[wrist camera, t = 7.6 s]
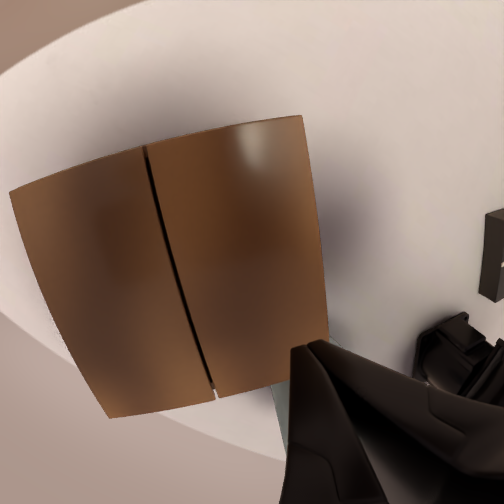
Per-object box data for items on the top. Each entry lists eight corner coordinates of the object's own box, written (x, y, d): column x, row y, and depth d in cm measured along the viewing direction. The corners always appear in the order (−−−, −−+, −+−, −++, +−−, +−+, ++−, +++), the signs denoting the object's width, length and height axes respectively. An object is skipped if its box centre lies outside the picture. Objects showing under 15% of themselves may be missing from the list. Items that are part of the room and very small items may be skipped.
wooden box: (257, 125, 17) (304, 113, 10) (287, 299, 21) (332, 367, 14) (69, 173, 16) (6, 191, 9) (124, 339, 19) (108, 420, 13)
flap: (298, 115, 11) (302, 114, 10) (328, 361, 14) (331, 366, 14) (147, 145, 10) (145, 144, 10) (218, 393, 14) (219, 398, 13)
